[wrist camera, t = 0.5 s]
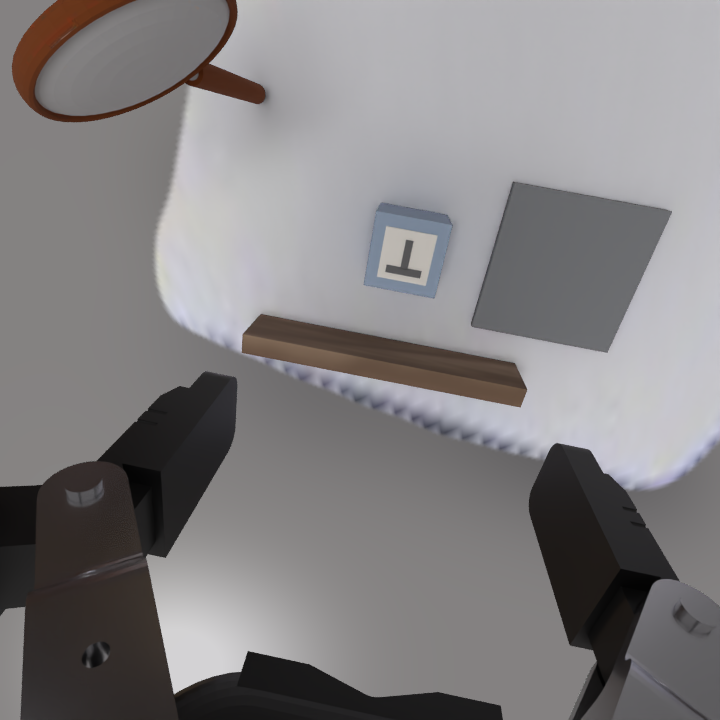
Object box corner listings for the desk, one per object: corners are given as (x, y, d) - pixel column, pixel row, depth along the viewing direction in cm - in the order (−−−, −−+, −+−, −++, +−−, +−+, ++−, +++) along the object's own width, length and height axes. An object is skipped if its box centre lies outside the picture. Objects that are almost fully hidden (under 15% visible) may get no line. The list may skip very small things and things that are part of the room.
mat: (513, 181, 31) (514, 182, 31) (667, 210, 31) (672, 211, 31) (470, 324, 36) (471, 326, 36) (604, 349, 36) (607, 352, 36)
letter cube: (381, 202, 33) (376, 211, 28) (447, 214, 33) (453, 225, 28) (369, 267, 35) (363, 286, 31) (431, 279, 35) (434, 299, 31)
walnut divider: (260, 314, 38) (242, 334, 34) (514, 363, 37) (527, 389, 33) (259, 331, 39) (241, 352, 35) (509, 379, 38) (520, 407, 34)
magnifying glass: (219, 139, 32) (-21, 130, 14) (205, 116, 32) (-62, 76, 14) (320, 73, 30) (182, -38, 12) (307, 46, 29) (143, -112, 11)
